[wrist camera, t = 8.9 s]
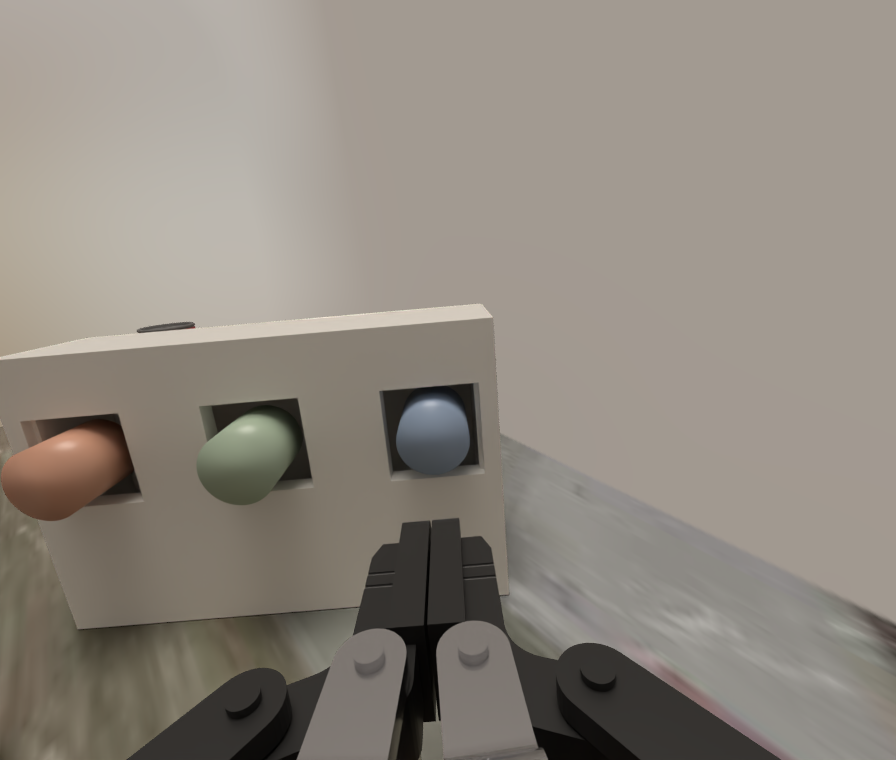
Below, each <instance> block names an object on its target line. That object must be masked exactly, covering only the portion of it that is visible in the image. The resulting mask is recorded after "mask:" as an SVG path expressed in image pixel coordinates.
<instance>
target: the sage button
mask: <svg viewBox="0 0 896 760" xmlns="http://www.w3.org/2000/svg"><path fill="white" fill-rule="evenodd" d="M302 440H303V437H302V431H301V428H300V426H299V424H298V422H297V421H296V419H295V418H294V417H293V416H292V415H291V414H290V413H289V412H287V411H285V410H284V409H282V408H279V407H276V406H272V405H260V406H256V407H253V408H251V409H249V410H248V411H246V412H245V413H244V414H242V415H241V416H240V417H238V418H237V419H236V420H235V421H233V422H232V423H231V424H230V425H228V426H227V427H226V428H224V429H223V430H222V431H221V432H219V433H218V434H217V435H215V436H214V437H213V438H212V439H210V440H209V441H208V442H207V443H206V444H205V445H204V446H203V447H202V449H201V450H200V452H199V454H198V457H197V464H196V466H197V474H198V477H199V479H200V481H201V483H202V485H203V486H204V488H205V489H206V490H207V491H208V492H209V493H210V494H211V495H213V496H214V497H215V498H217V499H219V500H221V501H223V502H225V503H228V504H233V505H249V504H253V503H256V502H258V501H260V500H262V499H263V498H264V497H266V496H267V495H268V494H269V493H270V491H271V490H272V489H273V487H274V486H275V484H276V483H277V482H278V480H279V479H280V478H281V476H282V475H283V474H284V472H285V471H286V470H287V468H288V467H289V465H290V464H291V463H292V461H293V460H294V459H295V457H296V456H297V454H298V453H299V451H300V449H301V446H302Z"/></svg>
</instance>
